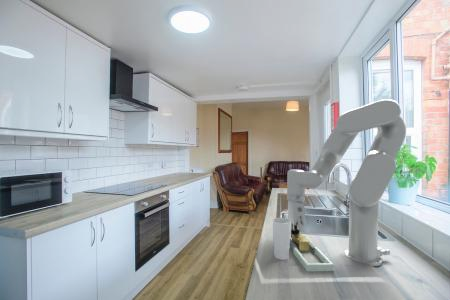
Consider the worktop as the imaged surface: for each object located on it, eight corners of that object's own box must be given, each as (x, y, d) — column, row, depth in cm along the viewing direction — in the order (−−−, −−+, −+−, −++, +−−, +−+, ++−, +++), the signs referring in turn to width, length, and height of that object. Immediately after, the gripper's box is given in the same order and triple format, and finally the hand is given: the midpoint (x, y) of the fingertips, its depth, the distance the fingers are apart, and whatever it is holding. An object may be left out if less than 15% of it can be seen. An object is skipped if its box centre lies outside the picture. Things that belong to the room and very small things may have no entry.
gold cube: (301, 243, 98) (301, 233, 98) (304, 247, 94) (304, 237, 94) (291, 243, 98) (292, 234, 98) (295, 247, 94) (295, 237, 94)
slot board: (304, 242, 102) (304, 235, 101) (315, 255, 90) (315, 247, 89) (285, 243, 101) (285, 235, 101) (294, 256, 89) (294, 248, 89)
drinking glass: (291, 264, 82) (291, 224, 82) (272, 262, 84) (272, 222, 84) (289, 256, 89) (290, 218, 89) (272, 254, 90) (272, 217, 90)
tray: (316, 255, 90) (317, 247, 89) (334, 274, 77) (334, 264, 77) (293, 256, 89) (293, 247, 89) (306, 274, 76) (306, 264, 76)
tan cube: (305, 247, 94) (305, 237, 94) (309, 251, 90) (309, 241, 90) (295, 247, 94) (295, 237, 94) (299, 251, 90) (299, 241, 90)
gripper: (311, 201, 93) (310, 246, 93) (298, 193, 108) (297, 232, 108) (293, 201, 93) (292, 246, 93) (282, 193, 108) (281, 232, 108)
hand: (295, 238), depth 101 cm, fingers closed
